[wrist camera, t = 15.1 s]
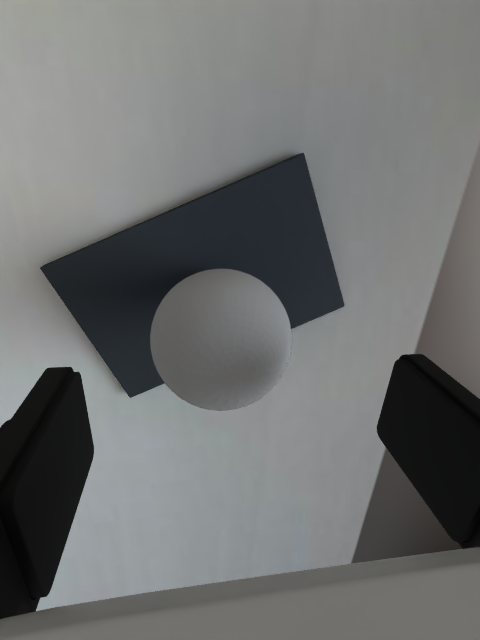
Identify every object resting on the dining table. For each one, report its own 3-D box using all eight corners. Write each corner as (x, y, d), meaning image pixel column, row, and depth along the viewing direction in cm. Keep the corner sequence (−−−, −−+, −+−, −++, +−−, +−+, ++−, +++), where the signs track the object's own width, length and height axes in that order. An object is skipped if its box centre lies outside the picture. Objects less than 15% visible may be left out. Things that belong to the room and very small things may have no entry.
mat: (300, 153, 19) (304, 152, 18) (341, 303, 23) (345, 306, 23) (43, 265, 19) (39, 268, 18) (131, 393, 23) (129, 398, 23)
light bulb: (248, 230, 19) (307, 279, 10) (261, 320, 22) (318, 422, 13) (148, 250, 19) (119, 318, 10) (172, 339, 21) (167, 459, 12)
